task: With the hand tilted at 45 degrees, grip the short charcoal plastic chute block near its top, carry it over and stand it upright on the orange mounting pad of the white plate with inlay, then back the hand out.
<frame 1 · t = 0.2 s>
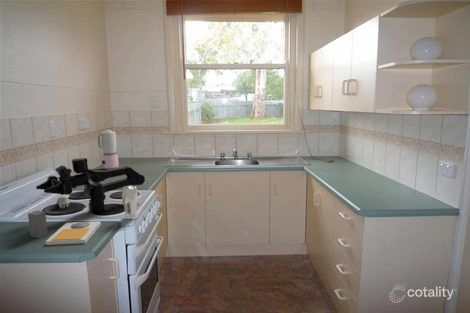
hand: (40, 189, 148), 17 cm above the countertop, tool horizontal, fingers open, 9 cm apart
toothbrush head: (65, 203, 185), on the countertop
blender: (109, 169, 272), on the countertop
white plate with inlay: (71, 237, 137), on the countertop
chute block: (39, 235, 139), on the countertop
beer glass: (131, 217, 160), on the countertop
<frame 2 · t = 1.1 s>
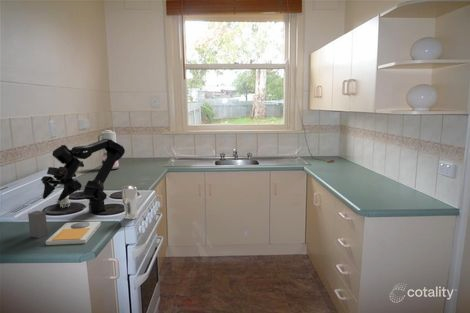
hand: (51, 199, 144), 13 cm above the countertop, tool tilted 45°, fingers open, 9 cm apart
nothing on the countertop moved.
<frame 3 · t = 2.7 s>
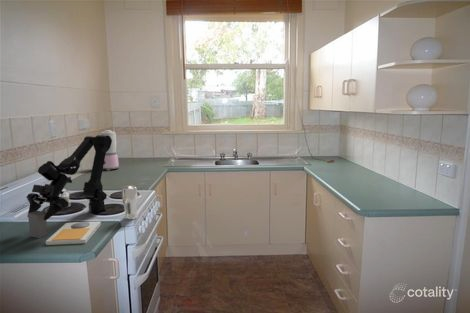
hand: (36, 218, 138), 8 cm above the countertop, tool tilted 45°, fingers open, 9 cm apart
nothing on the countertop moved.
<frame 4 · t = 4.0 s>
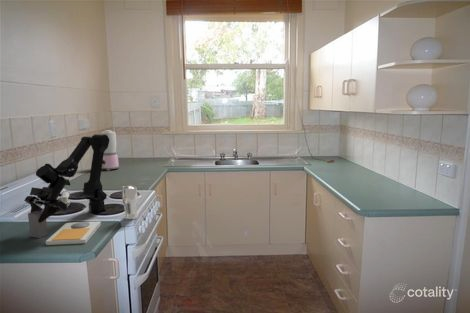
hand: (34, 221, 137), 7 cm above the countertop, tool tilted 45°, fingers closed on chute block, 5 cm apart
chute block: (39, 235, 139), on the countertop, touching gripper
everything else where it was.
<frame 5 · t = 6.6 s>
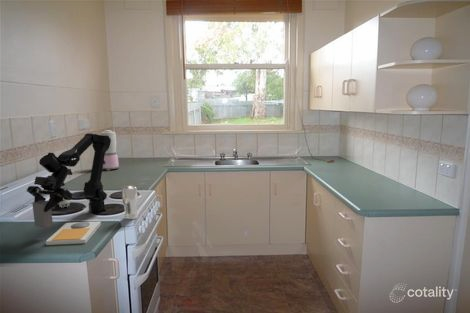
hand: (39, 211, 135), 11 cm above the countertop, tool tilted 45°, fingers closed on chute block, 5 cm apart
chute block: (44, 225, 138), point 5 cm above the countertop, touching gripper
everything else where it was.
when the fingers open (9 cm above the countertop, at t = 9.0 s): chute block stays where it is, resting on white plate with inlay.
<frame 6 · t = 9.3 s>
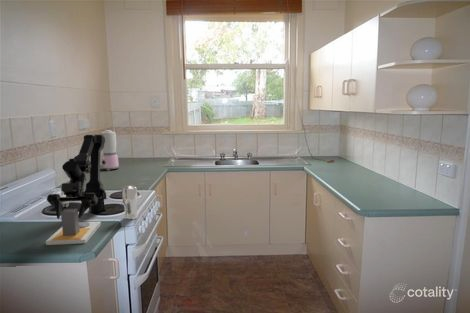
hand: (68, 218, 134), 9 cm above the countertop, tool tilted 45°, fingers open, 8 cm apart
chute block: (71, 233, 136), point 2 cm above the countertop, touching white plate with inlay
everything else where it was.
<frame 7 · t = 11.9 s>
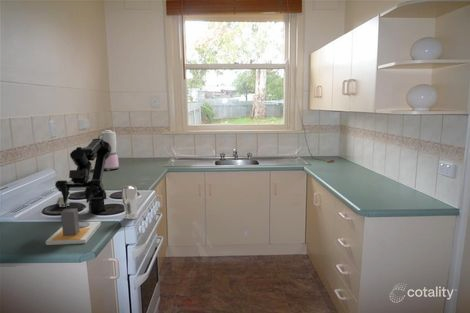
hand: (75, 202, 142), 13 cm above the countertop, tool tilted 45°, fingers open, 9 cm apart
nothing on the countertop moved.
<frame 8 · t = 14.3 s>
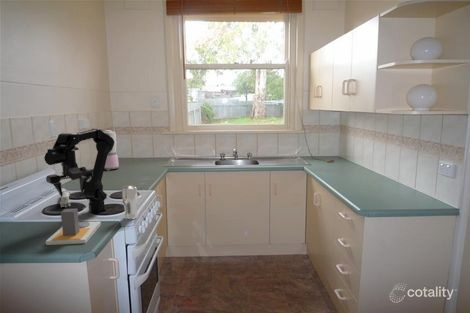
hand: (72, 194, 154), 13 cm above the countertop, tool pointing down, fingers open, 9 cm apart
nothing on the countertop moved.
at the end: chute block 0.0 cm off-centre on the white plate with inlay, point 1.8 cm above the white plate with inlay's base; chute block tilted 0°; the gripper is holding nothing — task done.
